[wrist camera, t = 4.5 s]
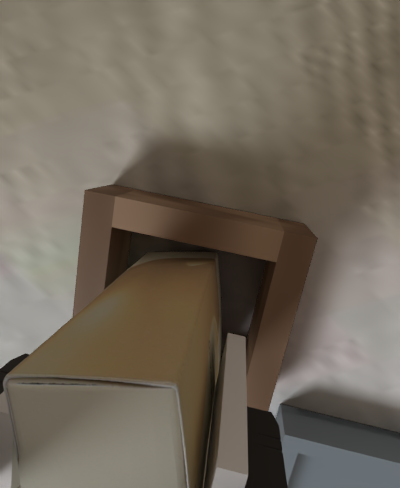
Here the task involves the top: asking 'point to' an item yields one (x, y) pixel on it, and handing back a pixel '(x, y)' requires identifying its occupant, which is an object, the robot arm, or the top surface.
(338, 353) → the top surface
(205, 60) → the top surface
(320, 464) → the tray
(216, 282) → the skincare box
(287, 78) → the top surface
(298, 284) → the socket block
